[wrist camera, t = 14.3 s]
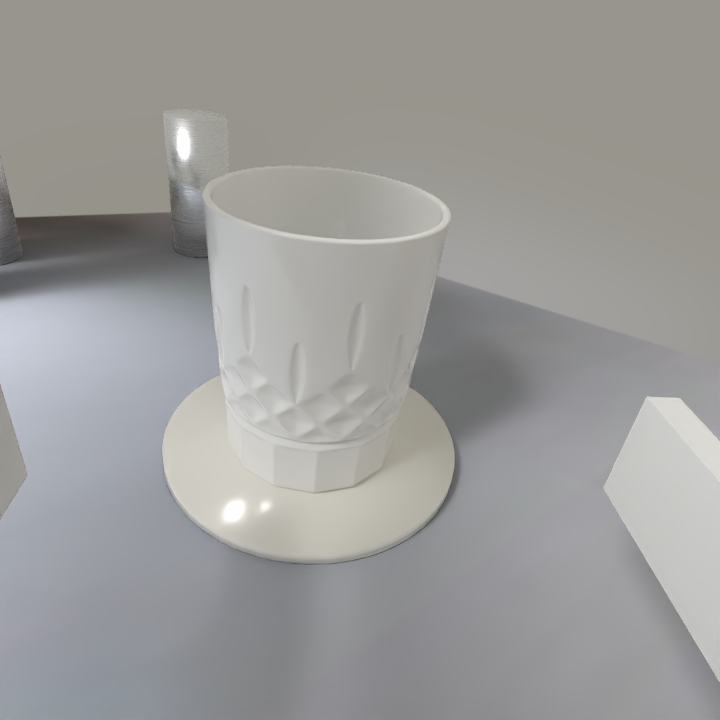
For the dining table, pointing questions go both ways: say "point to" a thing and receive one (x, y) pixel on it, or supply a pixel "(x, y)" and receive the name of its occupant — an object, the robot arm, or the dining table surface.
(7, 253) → the cylinder
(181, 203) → the cylinder
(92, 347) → the dining table surface
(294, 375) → the white cup
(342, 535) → the coaster
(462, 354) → the dining table surface
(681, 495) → the robot arm
